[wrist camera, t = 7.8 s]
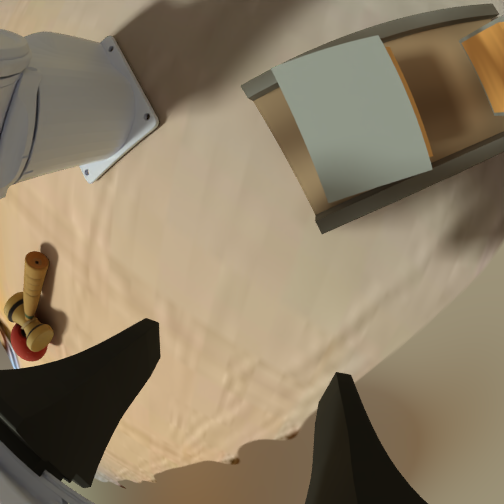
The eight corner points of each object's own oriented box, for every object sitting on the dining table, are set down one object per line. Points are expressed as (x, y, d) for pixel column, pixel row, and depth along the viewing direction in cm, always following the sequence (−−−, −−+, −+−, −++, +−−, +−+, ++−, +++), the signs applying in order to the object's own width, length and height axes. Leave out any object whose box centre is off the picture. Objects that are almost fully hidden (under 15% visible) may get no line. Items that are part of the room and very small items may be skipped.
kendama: (31, 229, 26) (19, 325, 31) (-2, 249, 20) (-2, 349, 25) (77, 263, 27) (56, 353, 33) (47, 291, 21) (37, 381, 27)
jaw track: (251, 92, 15) (204, 62, 8) (474, 13, 8) (527, -21, 2) (322, 221, 17) (324, 278, 10) (528, 128, 10) (596, 139, 4)
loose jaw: (287, 94, 13) (270, 68, 8) (364, 69, 12) (390, 32, 6) (323, 179, 15) (328, 203, 9) (398, 155, 13) (444, 166, 8)
